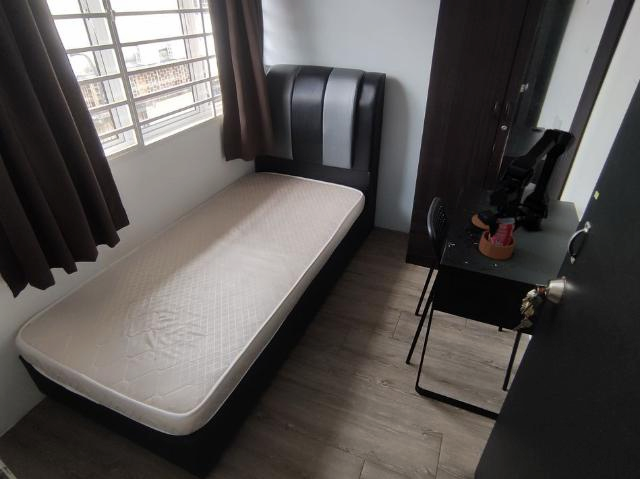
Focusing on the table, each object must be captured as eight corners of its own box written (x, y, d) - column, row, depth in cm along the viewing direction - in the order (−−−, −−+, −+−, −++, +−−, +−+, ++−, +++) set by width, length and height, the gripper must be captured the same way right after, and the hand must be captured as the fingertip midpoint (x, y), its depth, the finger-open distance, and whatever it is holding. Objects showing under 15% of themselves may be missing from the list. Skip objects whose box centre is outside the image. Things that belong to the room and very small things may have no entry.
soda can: (508, 256, 138) (518, 225, 131) (487, 253, 139) (496, 223, 132) (504, 244, 144) (514, 215, 137) (484, 242, 145) (493, 212, 138)
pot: (500, 240, 147) (504, 228, 144) (517, 258, 138) (522, 245, 135) (473, 243, 146) (476, 231, 143) (488, 261, 136) (493, 248, 133)
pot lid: (492, 215, 163) (495, 204, 161) (508, 230, 154) (512, 219, 151) (466, 217, 162) (468, 206, 159) (480, 232, 152) (483, 221, 149)
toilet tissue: (495, 200, 174) (501, 180, 169) (518, 197, 177) (525, 177, 171) (510, 211, 166) (517, 191, 160) (534, 208, 168) (542, 188, 163)
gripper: (522, 185, 138) (510, 222, 146) (474, 188, 135) (464, 226, 144) (542, 199, 128) (528, 238, 137) (491, 204, 126) (480, 243, 135)
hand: (499, 236), depth 138 cm, fingers closed on soda can, 6 cm apart
